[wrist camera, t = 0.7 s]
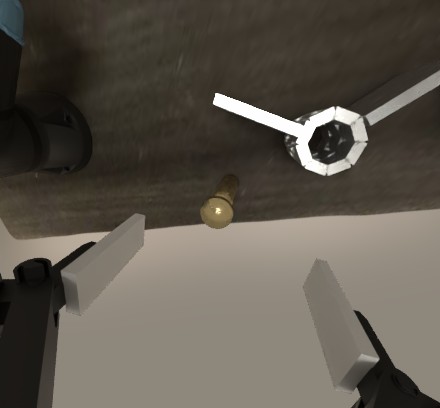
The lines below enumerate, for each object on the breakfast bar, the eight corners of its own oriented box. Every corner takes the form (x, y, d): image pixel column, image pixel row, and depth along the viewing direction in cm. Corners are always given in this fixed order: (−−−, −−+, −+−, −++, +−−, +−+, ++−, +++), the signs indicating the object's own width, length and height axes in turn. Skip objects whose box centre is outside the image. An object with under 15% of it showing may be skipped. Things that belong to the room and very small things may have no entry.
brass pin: (217, 188, 39) (196, 221, 26) (224, 169, 38) (206, 193, 24) (236, 195, 39) (225, 233, 26) (244, 176, 38) (237, 206, 24)
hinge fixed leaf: (221, 128, 35) (205, 129, 24) (235, 84, 33) (225, 63, 22) (315, 164, 35) (342, 182, 24) (338, 123, 32) (380, 122, 21)
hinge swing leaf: (297, 167, 35) (315, 185, 25) (276, 132, 34) (286, 135, 23) (409, 100, 30) (497, 85, 19) (390, 55, 28) (473, 10, 17)
